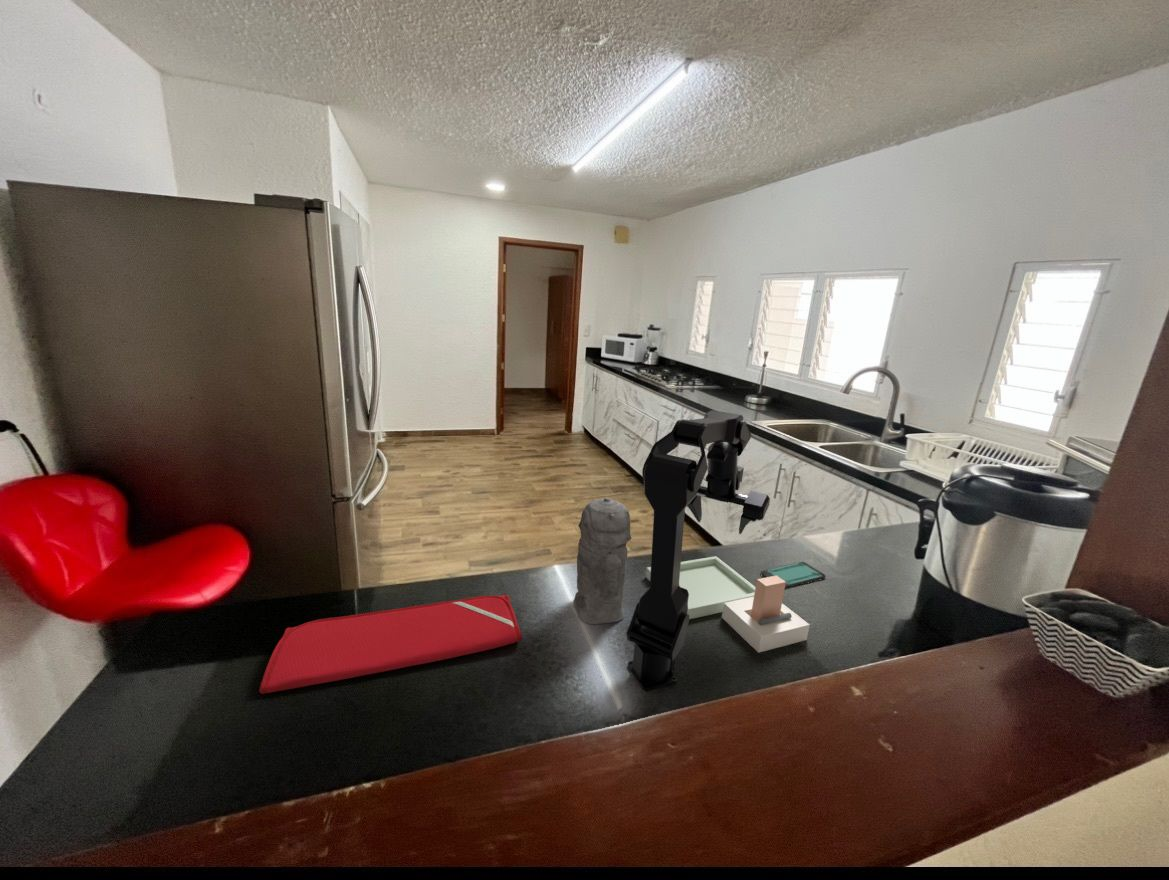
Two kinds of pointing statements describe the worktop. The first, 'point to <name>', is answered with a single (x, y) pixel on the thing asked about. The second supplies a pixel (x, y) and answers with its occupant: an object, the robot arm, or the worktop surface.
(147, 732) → the worktop surface
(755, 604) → the salmon pink rectangular block
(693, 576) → the tray
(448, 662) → the worktop surface
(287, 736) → the worktop surface
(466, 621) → the dish drying mat
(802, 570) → the smartphone
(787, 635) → the white slotted base
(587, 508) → the figurine
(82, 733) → the worktop surface
